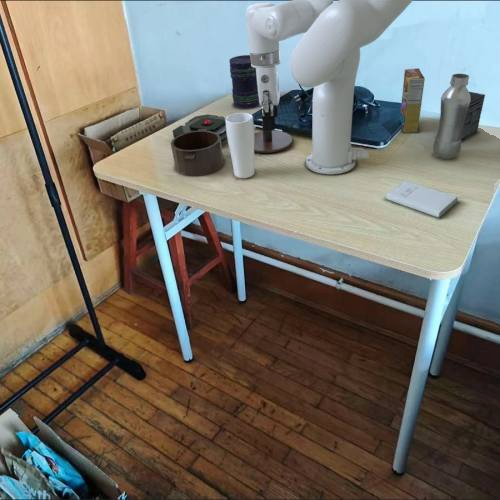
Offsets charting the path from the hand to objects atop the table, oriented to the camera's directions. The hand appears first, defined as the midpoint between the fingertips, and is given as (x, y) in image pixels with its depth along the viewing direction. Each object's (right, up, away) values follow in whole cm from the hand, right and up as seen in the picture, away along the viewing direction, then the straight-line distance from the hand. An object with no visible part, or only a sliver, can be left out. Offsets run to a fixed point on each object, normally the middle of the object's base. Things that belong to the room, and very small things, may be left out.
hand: (270, 123), depth 126 cm
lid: (-1, -4, +4) cm, 6 cm away
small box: (+52, -3, 0) cm, 52 cm away
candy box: (+40, +1, +7) cm, 41 cm away
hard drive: (+32, -24, -25) cm, 48 cm away
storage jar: (-7, +16, +33) cm, 37 cm away
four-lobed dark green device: (-18, 0, +13) cm, 23 cm away
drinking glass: (-7, -16, -9) cm, 19 cm away
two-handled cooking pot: (-19, -12, -3) cm, 23 cm away
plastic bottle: (+44, -11, -9) cm, 47 cm away
